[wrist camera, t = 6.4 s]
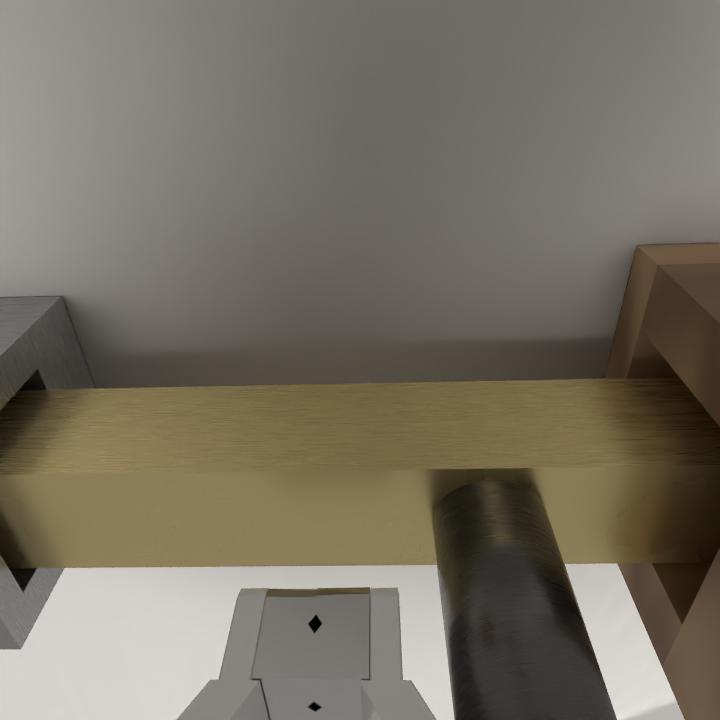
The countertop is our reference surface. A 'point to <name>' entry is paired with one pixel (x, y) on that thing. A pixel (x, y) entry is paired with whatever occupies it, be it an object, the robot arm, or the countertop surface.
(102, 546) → the yellow bar with knob
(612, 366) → the socket
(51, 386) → the sleeve
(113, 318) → the countertop surface
